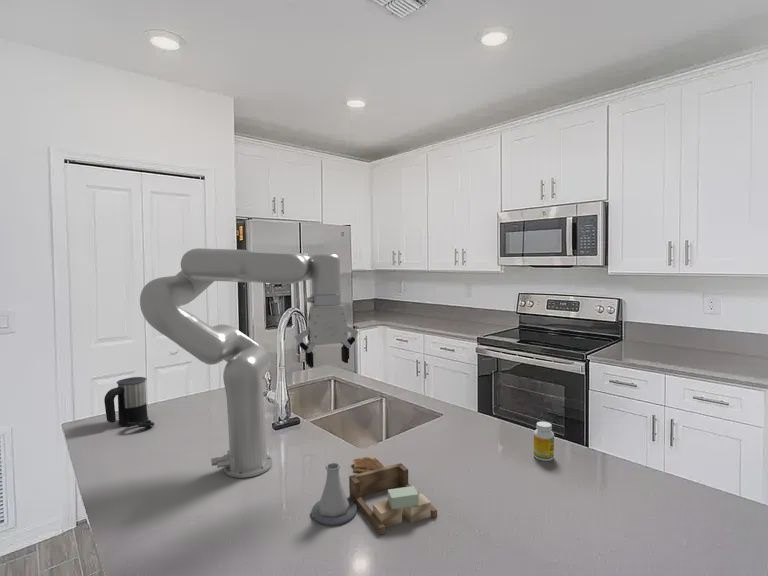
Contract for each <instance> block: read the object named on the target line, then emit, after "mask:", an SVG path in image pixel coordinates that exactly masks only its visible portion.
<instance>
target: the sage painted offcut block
mask: <svg viewBox="0 0 768 576" xmlns="http://www.w3.org/2000/svg"><path fill="white" fill-rule="evenodd" d="M418 493H419V491H418V490H417V489H416V487H415V486H414V485H411V486H410V487H403V488H401V487H397V488H396V487H395V488H388V489H387V500H388V502H389V504H390V506H391V509H397V508H404V507H410V506H417V505H419V494H420V493H419V494H418Z"/></svg>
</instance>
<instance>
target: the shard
mask: <svg viewBox="0 0 768 576" xmlns="http://www.w3.org/2000/svg"><path fill="white" fill-rule="evenodd" d="M352 462H353V464H354V468H353V471H354V472H355V473H363V472H367V471H371V470H375V469H379V468H383V467H385V466H384V465H383V464H382V463H381V462H380V461H379V459H378V458H376V457H374V456H372V457H371V456H365V457H360V458H355V459H352Z"/></svg>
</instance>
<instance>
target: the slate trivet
mask: <svg viewBox="0 0 768 576" xmlns="http://www.w3.org/2000/svg"><path fill="white" fill-rule="evenodd" d="M347 500H348V502H349V505H350V507H349V509H348V511H347V513H346V514H342V515H339V516H335V517H331V516H323V515H321V514H320V512H319V510H318V506H319V503H320V500H319V501H317V502H316V503H315V504H314V505H312V508H311V517H312V519H313V520H314V521H315V522H316V523H318V524H320V525H322V526H329V527H330V526H331V527H332V526H333V527H335V526H341V525H343V524H346V523H350V521H352V520H353V519H354V518H355V516H356V515H357V511H358V506H357V505H356V504H355V502H354V501H353V500H352V499H351V498H348V497H347Z"/></svg>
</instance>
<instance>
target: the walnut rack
mask: <svg viewBox="0 0 768 576" xmlns="http://www.w3.org/2000/svg"><path fill="white" fill-rule="evenodd" d="M348 477H349V478H348V484H349V486H348V489H349V491H348V492H349V497H350V499H351V500H352V501H354V502H355V504H356V506H357V509H358V510H360V511H361V514H363V516H364V517H365V518H366V520H368V522H369V523H370V524H371V526H372V527H373V528H374V530H375V531H376V533H377V534H378V535H379V536H381V535H384V534H386V527H385V526H384V525H383V523H382V522H381V521H380V520H379V519H378V517H377V516H376V515H375V514H374V512H373V509H371V508H370V507H369V505H368V504H367V503H366V502H365V501H364V498H362V496H366V495H369V494H373V493H376V492H380V491H384V490H389V489H393V488H394V487H395V488H396V487H398V486H399V488H403V487H410V486H412V485H411V484H410V483H409V469H408V468H407V466H405V465H404V464H403V463H402V462H400V463H396V464H395V463H394V464H392V465H388V466H384V467H383V468H379V469H375V470H371V471H367V472H358V473H355V474H351V475H349V476H348ZM418 494H420V493H419V492H418ZM437 517H438V509H437V508H436V507H434V505H433V504H431V517H430V518H432V519H434V518H437Z"/></svg>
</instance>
